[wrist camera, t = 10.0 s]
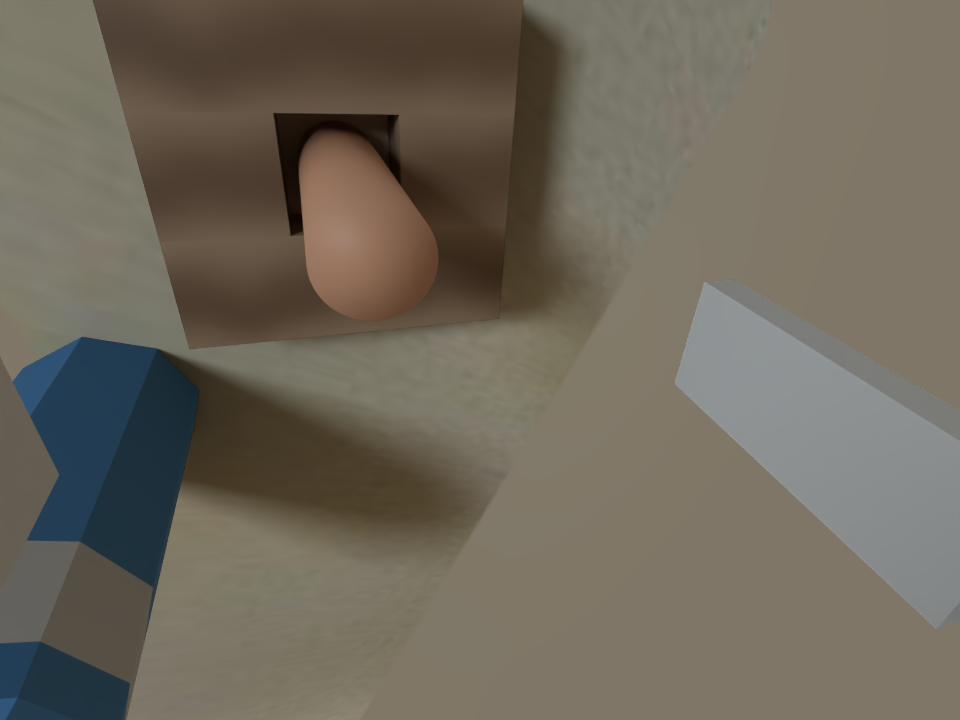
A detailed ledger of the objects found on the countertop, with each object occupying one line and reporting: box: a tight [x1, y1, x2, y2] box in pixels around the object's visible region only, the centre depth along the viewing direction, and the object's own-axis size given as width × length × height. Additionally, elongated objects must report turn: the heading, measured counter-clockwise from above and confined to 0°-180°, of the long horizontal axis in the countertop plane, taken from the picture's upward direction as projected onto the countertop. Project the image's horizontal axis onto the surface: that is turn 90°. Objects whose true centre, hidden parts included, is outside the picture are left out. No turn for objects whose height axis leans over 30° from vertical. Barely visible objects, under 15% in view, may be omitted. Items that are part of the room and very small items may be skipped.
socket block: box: [93, 0, 523, 349], centre depth 26 cm, size 16×16×5 cm
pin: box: [297, 120, 439, 321], centre depth 21 cm, size 4×4×14 cm
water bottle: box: [0, 337, 200, 720], centre depth 21 cm, size 9×9×25 cm
